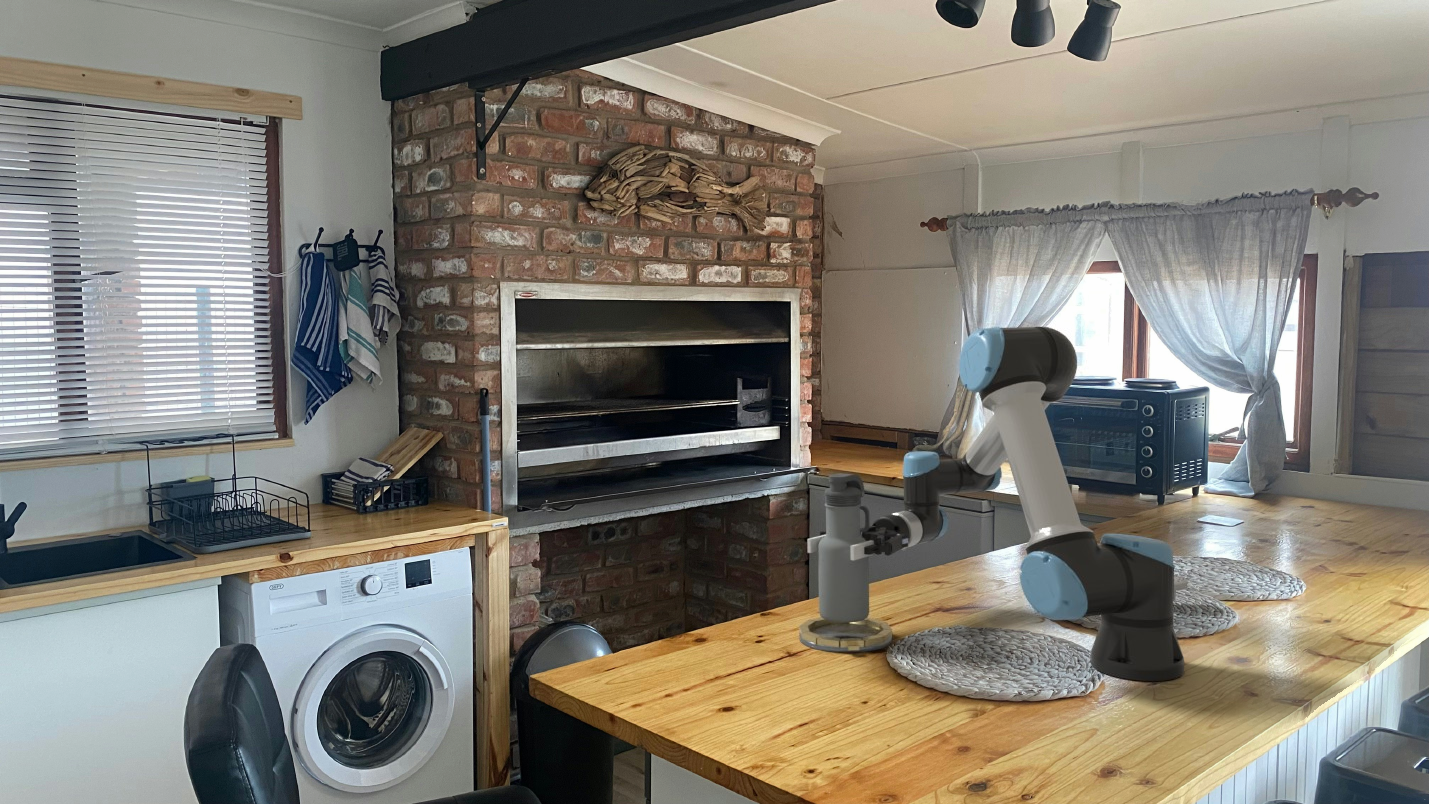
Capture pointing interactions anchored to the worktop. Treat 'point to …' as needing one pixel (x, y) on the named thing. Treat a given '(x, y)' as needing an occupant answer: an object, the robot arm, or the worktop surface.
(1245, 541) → the worktop surface
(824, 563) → the water bottle
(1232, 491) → the worktop surface
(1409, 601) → the worktop surface
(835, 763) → the worktop surface
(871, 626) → the collar
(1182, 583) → the showerhead
